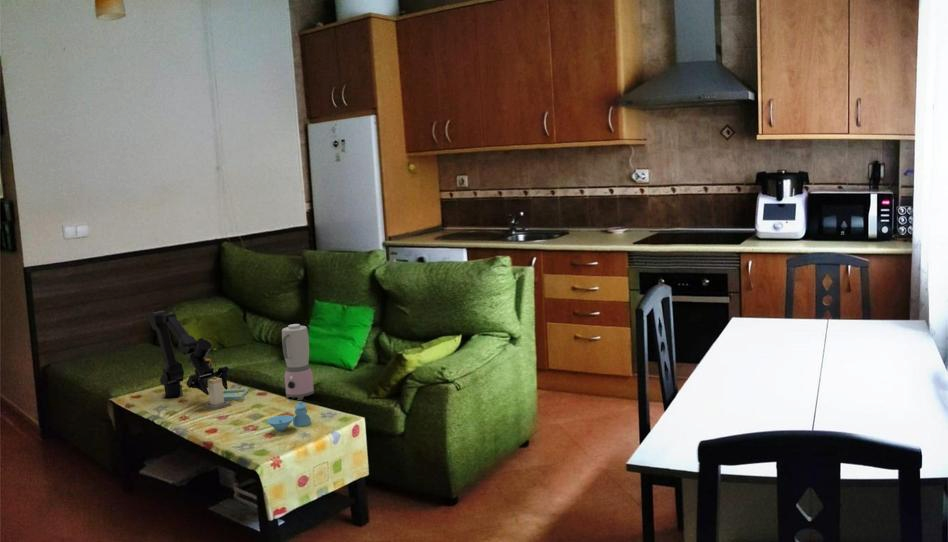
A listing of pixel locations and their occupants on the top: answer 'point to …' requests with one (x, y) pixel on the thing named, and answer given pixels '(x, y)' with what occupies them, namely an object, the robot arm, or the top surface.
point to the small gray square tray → (217, 406)
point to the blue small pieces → (291, 418)
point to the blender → (297, 361)
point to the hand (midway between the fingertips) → (217, 392)
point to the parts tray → (232, 396)
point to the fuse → (215, 391)
